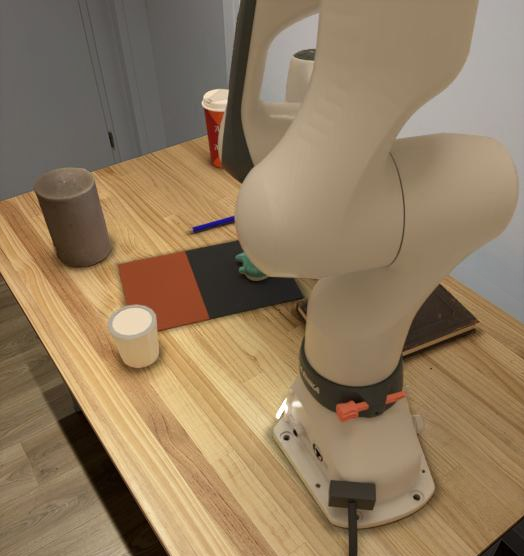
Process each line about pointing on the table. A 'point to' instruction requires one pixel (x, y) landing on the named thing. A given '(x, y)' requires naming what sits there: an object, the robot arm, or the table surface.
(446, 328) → the hardcover book
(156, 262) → the mat
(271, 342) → the table surface
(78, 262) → the pillar candle
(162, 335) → the table surface
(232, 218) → the pencil
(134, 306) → the jar candle
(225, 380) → the table surface
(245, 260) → the whale figurine
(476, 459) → the table surface
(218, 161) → the paper cup
